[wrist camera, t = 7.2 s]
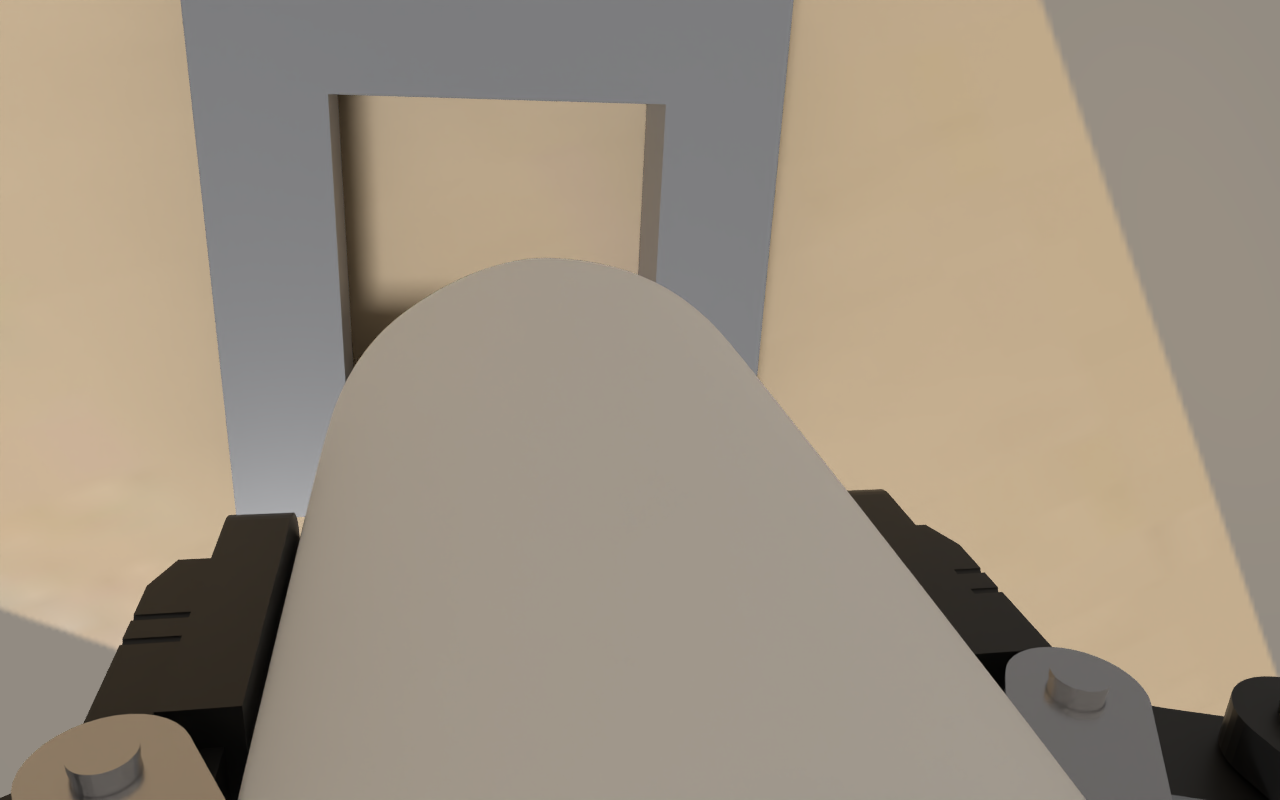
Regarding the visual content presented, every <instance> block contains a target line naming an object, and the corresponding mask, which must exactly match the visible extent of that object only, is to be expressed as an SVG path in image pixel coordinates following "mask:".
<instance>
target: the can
mask: <svg viewBox="0 0 1280 800" xmlns="http://www.w3.org/2000/svg"><path fill="white" fill-rule="evenodd" d="M238 800H1086V799H1085V798H1084V796H1083V795H1082V794H1081V792H1080V791H1079V790H1078V788H1077V787H1076V786H1075V784H1074V783H1073V782H1072V781H1071V779H1070V778H1069V777H1068V775H1067V774H1066V773H1065V771H1064V770H1063V769H1062V767H1061V766H1060V765H1059V764H1058V762H1057V761H1056V760H1055V758H1054V757H1053V756H1052V754H1051V753H1050V752H1049V750H1048V749H1047V748H1046V747H1045V745H1044V744H1043V743H1042V741H1041V740H1040V739H1039V737H1038V736H1037V735H1036V733H1035V732H1034V731H1033V730H1032V728H1031V727H1030V726H1029V724H1028V723H1027V722H1026V720H1025V719H1024V718H1023V716H1022V715H1021V714H1020V713H1019V711H1018V710H1017V709H1016V707H1015V706H1014V705H1013V703H1012V702H1011V701H1010V700H1009V698H1008V697H1007V696H1006V694H1005V693H1004V692H1003V690H1002V689H1001V688H1000V687H999V685H998V684H997V683H996V681H995V680H994V679H993V678H992V676H991V675H990V674H989V672H988V671H987V670H986V669H985V667H984V666H983V665H982V663H981V662H980V661H979V660H978V658H977V657H976V656H975V654H974V653H973V652H972V651H971V649H970V648H969V647H968V645H967V644H966V643H965V641H964V640H963V639H962V638H961V636H960V635H959V634H958V632H957V631H956V630H955V629H954V627H953V626H952V625H951V623H950V622H949V621H948V620H947V618H946V617H945V616H944V614H943V613H942V612H941V611H940V609H939V608H938V607H937V605H936V604H935V603H934V601H933V600H932V599H931V598H930V596H929V595H928V594H927V592H926V591H925V590H924V589H923V587H922V586H921V585H920V583H919V582H918V581H917V580H916V578H915V577H914V576H913V575H912V573H911V572H910V571H909V569H908V568H907V567H906V566H905V564H904V563H903V562H902V560H901V559H900V558H899V557H898V555H897V554H896V553H895V551H894V550H893V549H892V548H891V546H890V545H889V544H888V542H887V541H886V540H885V539H884V537H883V536H882V535H881V534H880V532H879V531H878V530H877V528H876V527H875V526H874V525H873V523H872V522H871V521H870V519H869V518H868V517H867V516H866V514H865V513H864V512H863V510H862V509H861V508H860V507H859V505H858V504H857V503H856V502H855V500H854V499H853V498H852V496H851V495H850V494H849V493H848V491H847V490H846V489H845V487H844V486H843V485H842V484H841V482H840V481H839V480H838V479H837V477H836V476H835V475H834V473H833V472H832V471H831V470H830V468H829V467H828V466H827V465H826V463H825V462H824V461H823V459H822V458H821V457H820V456H819V454H818V453H817V452H816V451H815V449H814V448H813V447H812V445H811V444H810V443H809V442H808V440H807V439H806V438H805V437H804V435H803V434H802V433H801V431H800V430H799V429H798V428H797V426H796V425H795V424H794V423H793V421H792V420H791V419H790V418H789V416H788V415H787V414H786V412H785V411H784V410H783V409H782V407H781V406H780V405H779V404H778V402H777V401H776V400H775V399H774V397H773V396H772V395H771V394H770V392H769V391H768V390H767V389H766V387H765V386H764V385H763V384H762V382H761V381H760V380H759V378H758V377H757V376H756V375H755V373H754V372H753V371H752V370H751V369H750V367H749V366H748V365H747V364H746V362H745V361H744V360H743V359H742V358H741V356H740V355H739V354H738V353H737V351H736V350H735V349H734V348H733V347H732V345H731V344H730V343H729V342H728V341H727V340H726V338H725V337H724V336H723V335H722V334H721V333H720V332H719V331H718V329H717V328H716V327H715V326H714V325H713V324H712V323H711V322H710V321H709V320H708V319H707V318H706V317H705V316H703V315H702V314H701V313H700V312H699V311H698V310H697V309H695V308H694V307H693V306H692V305H690V304H689V303H688V302H687V301H685V300H684V299H682V298H681V297H679V296H678V295H676V294H675V293H673V292H672V291H670V290H668V289H667V288H665V287H663V286H661V285H659V284H657V283H655V282H653V281H651V280H649V279H647V278H645V277H642V276H640V275H637V274H635V273H632V272H629V271H626V270H623V269H620V268H616V267H612V266H608V265H604V264H599V263H594V262H588V261H581V260H572V259H560V258H534V259H524V260H518V261H513V262H508V263H504V264H500V265H497V266H493V267H490V268H487V269H484V270H481V271H478V272H476V273H473V274H470V275H468V276H466V277H464V278H461V279H459V280H457V281H455V282H453V283H451V284H449V285H447V286H445V287H443V288H441V289H440V290H438V291H436V292H434V293H433V294H431V295H429V296H428V297H426V298H424V299H423V300H421V301H420V302H418V303H417V304H415V305H414V306H412V307H411V308H410V309H408V310H407V311H405V312H404V313H403V314H401V315H400V316H399V317H398V318H396V319H395V320H394V321H393V322H392V323H391V324H389V325H388V326H387V327H386V328H385V329H384V330H383V331H382V332H381V333H380V334H379V335H378V336H377V337H376V339H375V340H374V341H373V342H372V343H371V344H370V346H369V347H368V348H367V349H366V351H365V352H364V353H363V355H362V356H361V358H360V359H359V360H358V362H357V364H356V365H355V367H354V368H353V370H352V372H351V373H350V375H349V377H348V379H347V381H346V383H345V385H344V387H343V389H342V391H341V393H340V395H339V398H338V400H337V403H336V405H335V408H334V411H333V414H332V417H331V420H330V423H329V427H328V430H327V433H326V437H325V440H324V444H323V448H322V452H321V456H320V460H319V463H318V467H317V471H316V475H315V479H314V483H313V487H312V491H311V495H310V500H309V504H308V508H307V512H306V516H305V520H304V524H303V528H302V532H301V536H300V540H299V544H298V549H297V553H296V557H295V561H294V565H293V569H292V573H291V578H290V582H289V586H288V590H287V594H286V598H285V602H284V607H283V611H282V615H281V619H280V623H279V627H278V632H277V636H276V640H275V644H274V648H273V653H272V657H271V661H270V665H269V669H268V674H267V678H266V682H265V686H264V690H263V695H262V699H261V703H260V707H259V712H258V716H257V720H256V724H255V728H254V733H253V737H252V741H251V745H250V749H249V754H248V758H247V762H246V766H245V771H244V775H243V779H242V784H241V788H240V792H239V796H238Z"/></svg>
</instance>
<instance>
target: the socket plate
mask: <svg viewBox="0 0 1280 800" xmlns="http://www.w3.org/2000/svg"><path fill="white" fill-rule="evenodd" d="M181 8H182V17H183V26H184V36H185V45H186V54H187V63H188V73H189V82H190V91H191V100H192V110H193V119H194V128H195V137H196V147H197V156H198V165H199V174H200V184H201V193H202V202H203V211H204V221H205V230H206V239H207V248H208V258H209V267H210V276H211V285H212V295H213V304H214V313H215V322H216V332H217V341H218V350H219V359H220V369H221V378H222V387H223V396H224V405H225V415H226V424H227V433H228V442H229V452H230V461H231V470H232V479H233V489H234V498H235V507H236V515H244V514H268V513H292V512H294V513H295V514H296V517H305V516H306V512H307V508H308V504H309V500H310V495H311V491H312V487H313V483H314V479H315V475H316V471H317V467H318V463H319V460H320V456H321V452H322V448H323V444H324V440H325V437H326V433H327V430H328V427H329V423H330V420H331V417H332V414H333V411H334V408H335V405H336V403H337V400H338V398H339V395H340V393H341V391H342V389H343V387H344V385H345V383H346V381H347V379H348V377H349V375H350V373H351V372H352V370H353V368H354V367H353V350H352V332H351V315H350V297H349V280H348V262H347V245H346V227H345V210H344V193H343V175H342V158H341V140H340V123H339V105H338V94H339V95H372V96H405V97H438V98H471V99H504V100H536V101H569V102H602V103H635V104H647V109H646V129H645V149H644V169H643V189H642V209H641V229H640V250H639V270H638V275H640V276H642V277H645V278H647V279H649V280H651V281H653V282H655V283H657V284H659V285H661V286H663V287H665V288H667V289H668V290H670V291H672V292H673V293H675V294H676V295H678V296H679V297H681V298H682V299H684V300H685V301H687V302H688V303H689V304H690V305H692V306H693V307H694V308H695V309H697V310H698V311H699V312H700V313H701V314H702V315H703V316H705V317H706V318H707V319H708V320H709V321H710V322H711V323H712V324H713V325H714V326H715V327H716V328H717V329H718V331H719V332H720V333H721V334H722V335H723V336H724V337H725V338H726V340H727V341H728V342H729V343H730V344H731V345H732V347H733V348H734V349H735V350H736V351H737V353H738V354H739V355H740V356H741V358H742V359H743V360H744V361H745V362H746V364H747V365H748V366H749V367H750V369H751V370H752V371H753V372H754V373H755V375H756V376H757V371H758V361H759V350H760V340H761V330H762V319H763V309H764V299H765V288H766V278H767V268H768V258H769V247H770V237H771V227H772V216H773V206H774V196H775V185H776V175H777V165H778V154H779V144H780V134H781V124H782V113H783V103H784V93H785V82H786V72H787V62H788V51H789V41H790V31H791V21H792V10H793V0H181Z"/></svg>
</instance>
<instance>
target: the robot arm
mask: <svg viewBox="0 0 1280 800" xmlns="http://www.w3.org/2000/svg"><path fill="white" fill-rule="evenodd" d="M848 493H849V494H850V495H851V496H852V498H853V499H854V500H855V502H856V503H857V504H858V505H859V507H860V508H861V509H862V510H863V512H864V513H865V514H866V516H867V517H868V518H869V519H870V521H871V522H872V523H873V525H874V526H875V527H876V528H877V530H878V531H879V532H880V534H881V535H882V536H883V537H884V539H885V540H886V541H887V542H888V544H889V545H890V546H891V548H892V549H893V550H894V551H895V553H896V554H897V555H898V557H899V558H900V559H901V560H902V562H903V563H904V564H905V566H906V567H907V568H908V569H909V571H910V572H911V573H912V575H913V576H914V577H915V578H916V580H917V581H918V582H919V583H920V585H921V586H922V587H923V589H924V590H925V591H926V592H927V594H928V595H929V596H930V598H931V599H932V600H933V601H934V603H935V604H936V605H937V607H938V608H939V609H940V611H941V612H942V613H943V614H944V616H945V617H946V618H947V620H948V621H949V622H950V623H951V625H952V626H953V627H954V629H955V630H956V631H957V632H958V634H959V635H960V636H961V638H962V639H963V640H964V641H965V643H966V644H967V645H968V647H969V648H970V649H971V651H972V652H973V653H974V654H975V656H976V657H977V658H978V660H979V661H980V662H981V663H982V665H983V666H984V667H985V669H986V670H987V671H988V672H989V674H990V675H991V676H992V678H993V679H994V680H995V681H996V683H997V684H998V685H999V687H1000V688H1001V689H1002V690H1003V692H1004V693H1005V694H1006V696H1007V697H1008V698H1009V700H1010V701H1011V702H1012V703H1013V705H1014V706H1015V707H1016V709H1017V710H1018V711H1019V713H1020V714H1021V715H1022V716H1023V718H1024V719H1025V720H1026V722H1027V723H1028V724H1029V726H1030V727H1031V728H1032V730H1033V731H1034V732H1035V733H1036V735H1037V736H1038V737H1039V739H1040V740H1041V741H1042V743H1043V744H1044V745H1045V747H1046V748H1047V749H1048V750H1049V752H1050V753H1051V754H1052V756H1053V757H1054V758H1055V760H1056V761H1057V762H1058V764H1059V765H1060V766H1061V767H1062V769H1063V770H1064V771H1065V773H1066V774H1067V775H1068V777H1069V778H1070V779H1071V781H1072V782H1073V783H1074V784H1075V786H1076V787H1077V788H1078V790H1079V791H1080V792H1081V794H1082V795H1083V796H1084V798H1085V799H1086V800H1280V677H1265V676H1264V677H1254V678H1250V679H1246V680H1244V681H1242V682H1240V683H1238V684H1237V685H1236V686H1235V687H1234V689H1233V691H1232V694H1231V697H1230V700H1229V703H1228V706H1227V709H1226V712H1225V716H1217V715H1210V714H1203V713H1195V712H1188V711H1181V710H1174V709H1167V708H1160V707H1155V706H1151V702H1150V699H1149V697H1148V695H1147V693H1146V692H1145V690H1144V689H1143V688H1142V687H1141V685H1140V684H1139V683H1138V682H1137V681H1136V680H1135V679H1133V678H1132V677H1131V676H1130V675H1129V674H1127V673H1126V672H1124V671H1123V670H1121V669H1120V668H1118V667H1117V666H1115V665H1113V664H1111V663H1109V662H1107V661H1105V660H1103V659H1100V658H1098V657H1096V656H1093V655H1090V654H1087V653H1084V652H1080V651H1076V650H1071V649H1065V648H1057V647H1052V646H1051V645H1050V644H1049V643H1048V642H1047V641H1046V640H1045V639H1044V638H1043V637H1042V635H1041V634H1040V633H1039V632H1038V631H1037V630H1036V629H1035V628H1034V627H1033V626H1032V624H1031V623H1030V622H1029V621H1028V620H1027V619H1026V618H1025V617H1024V616H1023V614H1022V613H1021V612H1020V611H1019V610H1018V609H1017V608H1016V607H1015V606H1014V605H1013V603H1012V602H1011V601H1010V600H1009V599H1008V598H1007V597H1006V596H1005V595H1004V593H1003V592H998V587H997V586H996V585H995V584H994V582H993V581H992V580H991V579H990V578H989V577H988V576H987V575H986V574H985V573H981V571H980V567H979V566H978V565H977V564H976V563H975V561H974V560H973V559H972V558H971V557H970V556H969V555H968V554H967V553H966V552H965V550H964V549H963V548H962V547H961V546H960V545H959V544H957V543H956V542H954V541H952V540H951V539H949V538H947V537H945V536H944V535H942V534H940V533H939V532H937V531H935V530H933V529H932V528H930V527H928V526H927V525H915V524H914V523H913V521H912V520H911V519H910V518H909V517H908V516H907V514H906V513H905V512H904V511H903V510H902V509H901V507H900V506H899V505H898V504H897V503H896V502H895V501H894V499H893V498H892V497H891V496H890V495H889V494H888V493H887V492H886V491H885V490H882V489H876V490H852V491H848ZM299 540H300V536H299V527H298V521H297V517H296V514H295V513H294V512H292V513H268V514H244V515H228V517H227V518H226V520H225V523H224V525H223V528H222V531H221V533H220V536H219V539H218V541H217V544H216V547H215V549H214V552H213V555H212V557H211V558H206V559H186V560H178V561H176V562H175V563H174V564H173V565H172V566H170V567H169V568H168V569H167V570H166V571H164V572H163V573H162V574H161V575H160V576H158V577H157V578H156V579H155V580H154V581H152V582H151V583H150V584H149V585H147V587H146V589H145V591H144V594H143V596H142V598H141V600H140V602H139V604H138V607H137V609H136V611H135V613H134V620H133V621H131V622H130V624H129V626H128V628H127V630H126V633H125V635H124V637H123V644H122V645H120V646H119V648H118V650H117V652H116V654H115V656H114V658H113V661H112V663H111V665H110V667H109V669H108V671H107V674H106V676H105V678H104V680H103V682H102V685H101V687H100V689H99V691H98V693H97V695H96V697H95V700H94V702H93V704H92V706H91V708H90V710H89V713H88V715H87V717H86V719H85V721H84V723H83V724H81V725H79V726H76V727H74V728H71V729H69V730H67V731H65V732H63V733H62V734H60V735H58V736H56V737H54V738H53V739H51V740H50V741H48V742H47V743H45V744H44V745H42V746H41V747H40V748H39V749H37V750H36V751H35V752H34V753H33V754H32V755H31V756H30V757H29V758H28V759H27V760H26V761H25V762H24V763H23V765H22V766H21V768H20V769H19V771H18V772H17V774H16V776H15V778H14V781H13V784H12V790H11V794H9V795H7V796H4V797H2V798H0V800H238V796H239V792H240V788H241V784H242V779H243V775H244V771H245V766H246V762H247V758H248V754H249V749H250V745H251V741H252V737H253V733H254V728H255V724H256V720H257V716H258V712H259V707H260V703H261V699H262V695H263V690H264V686H265V682H266V678H267V674H268V669H269V665H270V661H271V657H272V653H273V648H274V644H275V640H276V636H277V632H278V627H279V623H280V619H281V615H282V611H283V607H284V602H285V598H286V594H287V590H288V586H289V582H290V578H291V573H292V569H293V565H294V561H295V557H296V553H297V549H298V544H299Z"/></svg>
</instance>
